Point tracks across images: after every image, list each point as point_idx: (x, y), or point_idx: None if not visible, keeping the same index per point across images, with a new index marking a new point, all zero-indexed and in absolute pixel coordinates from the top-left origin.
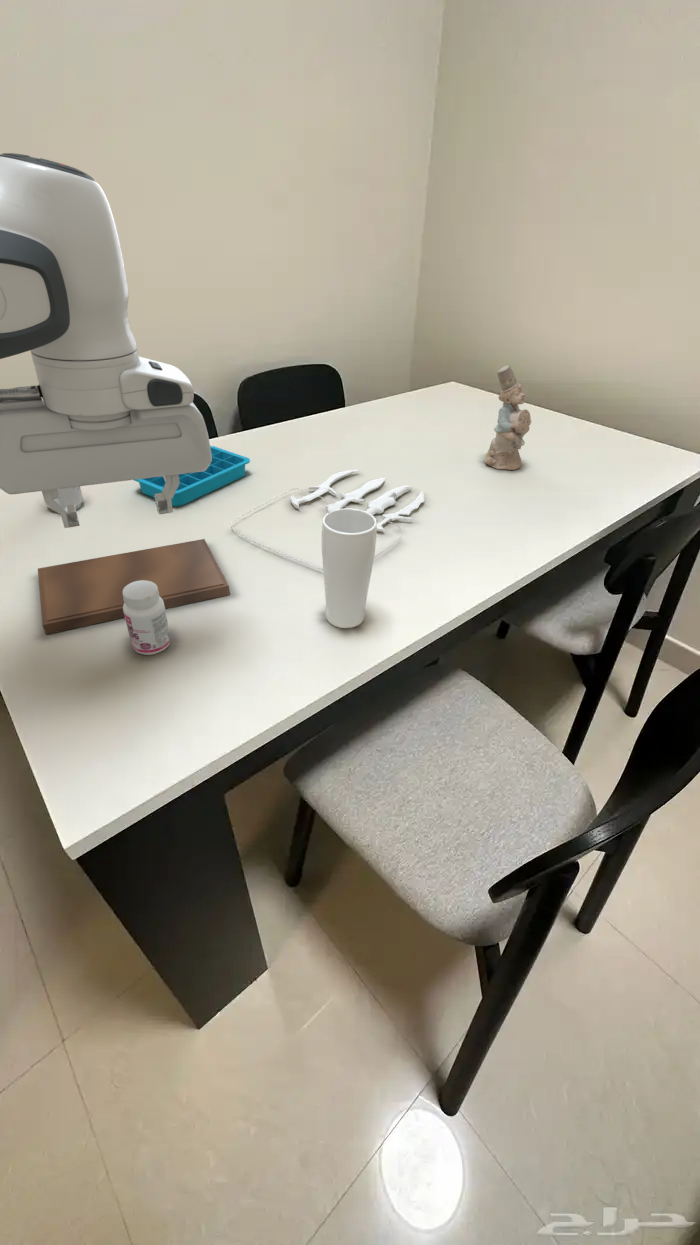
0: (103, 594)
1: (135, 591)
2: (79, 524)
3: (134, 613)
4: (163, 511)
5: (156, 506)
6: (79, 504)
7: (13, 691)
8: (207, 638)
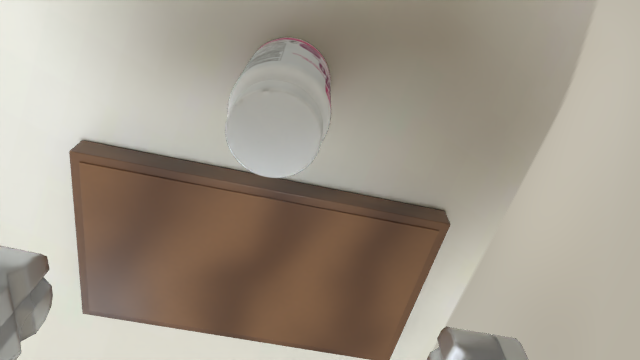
0: (320, 250)
1: (287, 134)
2: (437, 338)
3: (313, 88)
4: (5, 253)
5: (41, 313)
6: None
7: (565, 91)
8: (173, 24)
